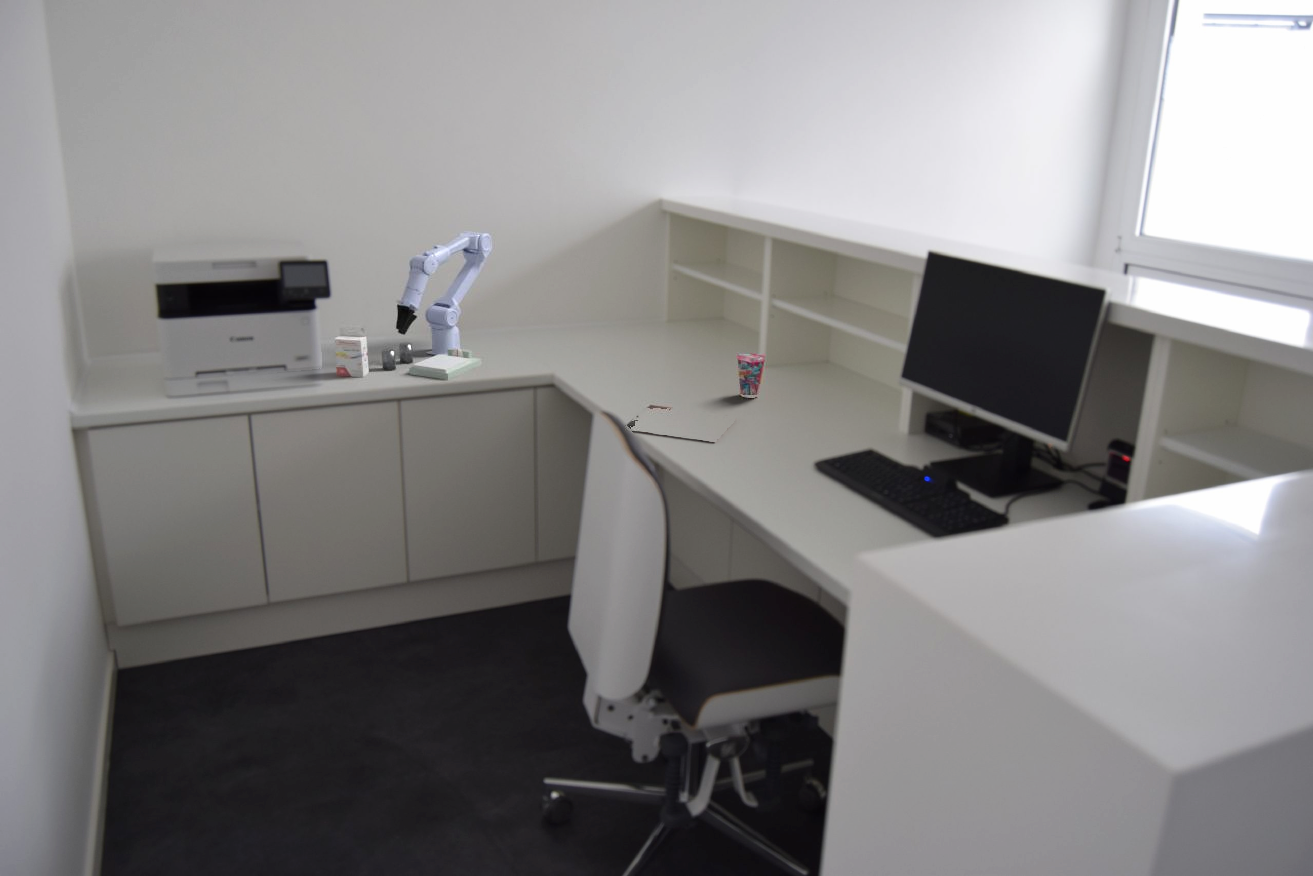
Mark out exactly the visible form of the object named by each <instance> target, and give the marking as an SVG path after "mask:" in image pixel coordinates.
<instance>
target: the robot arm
mask: <svg viewBox="0 0 1313 876" xmlns="http://www.w3.org/2000/svg"><path fill="white" fill-rule="evenodd" d="M492 250H493V240H492V237H491V235H490V234H489V233H487V232H484V233H483V232H475V231H469V230H464V231H463V232H460V233H458V236H457V237H456V238H454V239H453V240H451V241H450V242H448V243H447V244H446V245H441V244H435V245H434V246H433V248H431V249H429V250H428V251H427V250H426V251H424V252H423V253H422V254H416V255H415V256H413V257H412V258H411V259H410V260H409V273H408V275H409V276H408V279H407V282H406V285H405V288H404V290H403V293H402V296H401V299H400V300H399V299H396V303H397V305H396V307H397V308H396V310H397V315H396V316H397V318H396V324H395V329H396V330H397V333H398V334H400V335H404V336H405V335H406V334H407V332H408V330H409V328H410V327H411V325H412V324H413V323H414V322H415V320H416V319H418V315H415V313H416V311H419V308H420V304H421V301H422V298H423V295H424V293H425V289H426V286H427V283H428V280H429V277H430V275H434V273H435V272H436V271H437V269H438V267H440V266H442V265H443V264H445V263H446V262H447V263H448V261H450V258H451V257H450V256H453V255H454V254H457V253H459V252H462V255H463V258H464V259H465V260H466V261H465V263H464V265H463V267H462V268H461V269H460V271H459V272H458V273H457V275H456V277H455V279H454V280H453V282H452V283H451V285H450V286H449V287H448V289H447V290H446V292H445V293H444V295H443V297H440V298H437V299H435V300H434V301H433V303H431V304H430V305H429V306H428V307H427V308H426V310H425V313H424V316H425V317H424V318H425V320H426V322H427V323H428V324H429V327H430V333H431V350H429V351H427V352H426V354H428V355H434V356H436V355H438V354H440V355H442V354H448V353H447V349H449V348H457V349H461V341H460V339H461V338H460V330H459V328H458V327H457V326H456V325H457V324H458V320H459V316H460V315H461V313H462V311H461V308H460V306H459V305H460V303H461V302H462V300H463V298H464V297H465V296H466V294H467V293H468V291H469V290H470V288H471V287H472V285H473V283H474V282H475V280H476V278H478V275H479V274H480V272H481V271H482V269H484V265H485V263H486V260H487V258H488V257H489V254H490V252H491V251H492Z"/></svg>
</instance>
